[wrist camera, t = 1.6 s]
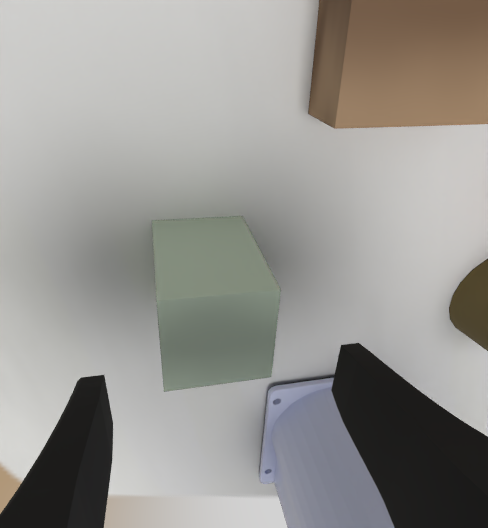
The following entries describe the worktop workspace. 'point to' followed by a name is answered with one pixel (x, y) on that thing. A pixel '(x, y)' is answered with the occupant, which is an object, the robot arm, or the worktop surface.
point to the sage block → (213, 302)
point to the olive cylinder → (472, 305)
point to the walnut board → (400, 63)
